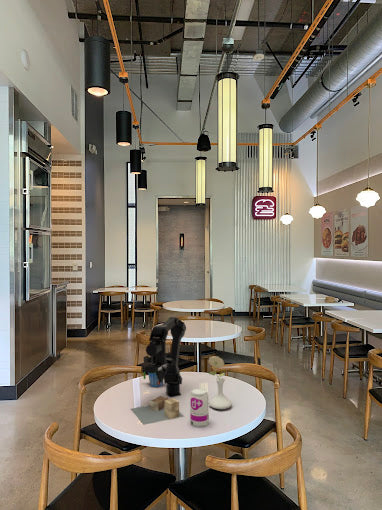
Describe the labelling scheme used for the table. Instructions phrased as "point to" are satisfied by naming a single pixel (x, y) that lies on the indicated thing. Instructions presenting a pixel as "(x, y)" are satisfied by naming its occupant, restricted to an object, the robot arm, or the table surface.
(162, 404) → the walnut block
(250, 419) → the table surface
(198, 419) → the supplement can
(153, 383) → the snack cup
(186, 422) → the table surface
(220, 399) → the flower in vase
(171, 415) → the oak block
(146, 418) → the slate mat
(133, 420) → the table surface
